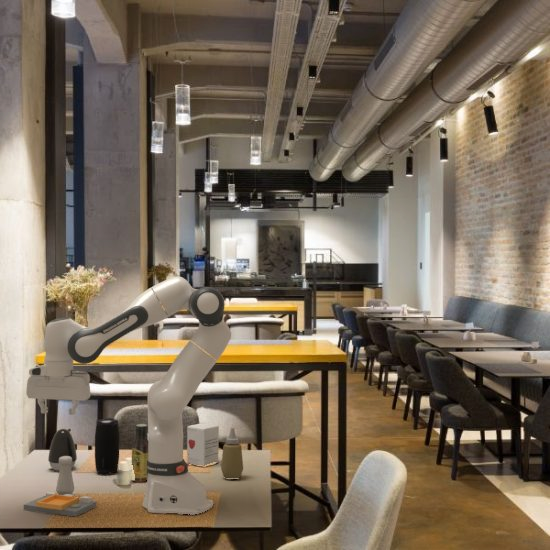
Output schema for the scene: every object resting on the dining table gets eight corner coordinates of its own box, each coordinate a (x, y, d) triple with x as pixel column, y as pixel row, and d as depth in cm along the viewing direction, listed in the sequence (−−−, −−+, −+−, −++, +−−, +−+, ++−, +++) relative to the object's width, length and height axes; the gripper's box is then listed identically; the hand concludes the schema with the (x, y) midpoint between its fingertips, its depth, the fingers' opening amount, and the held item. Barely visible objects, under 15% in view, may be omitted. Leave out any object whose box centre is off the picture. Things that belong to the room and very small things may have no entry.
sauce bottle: (127, 480, 271) (128, 424, 271) (143, 477, 275) (143, 422, 275) (137, 484, 266) (137, 427, 266) (152, 481, 270) (153, 425, 270)
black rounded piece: (81, 467, 289) (82, 427, 289) (67, 473, 279) (68, 432, 279) (57, 465, 292) (58, 425, 292) (43, 471, 281) (43, 430, 282)
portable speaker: (104, 468, 287) (105, 416, 287) (124, 471, 282) (124, 419, 283) (89, 473, 279) (89, 420, 279) (108, 477, 275) (109, 422, 275)
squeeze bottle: (216, 478, 275) (216, 428, 275) (233, 474, 280) (234, 425, 280) (230, 482, 269) (230, 431, 269) (247, 478, 274) (248, 428, 274)
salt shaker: (69, 499, 247) (69, 459, 247) (52, 498, 248) (53, 458, 248) (77, 494, 253) (77, 455, 253) (61, 493, 254) (61, 454, 254)
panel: (96, 506, 239) (96, 497, 239) (75, 517, 229) (75, 507, 229) (46, 500, 246) (46, 490, 246) (23, 510, 235) (23, 500, 235)
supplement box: (186, 464, 294) (186, 425, 294) (201, 460, 301) (201, 422, 301) (203, 468, 289) (204, 428, 289) (219, 463, 296) (219, 425, 296)
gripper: (94, 369, 240) (93, 413, 240) (34, 367, 244) (33, 410, 244) (85, 371, 234) (84, 416, 234) (24, 369, 238) (23, 414, 237)
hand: (58, 413), depth 239 cm, fingers open, 8 cm apart
